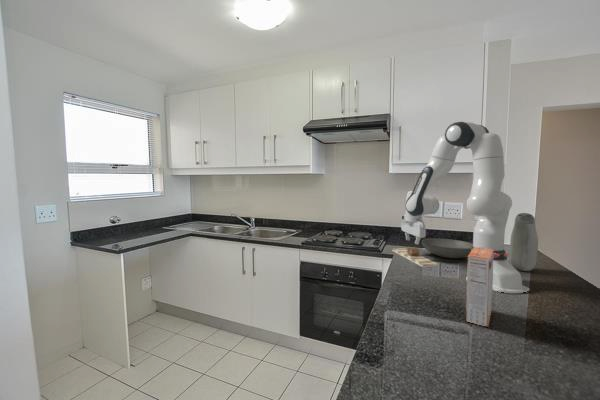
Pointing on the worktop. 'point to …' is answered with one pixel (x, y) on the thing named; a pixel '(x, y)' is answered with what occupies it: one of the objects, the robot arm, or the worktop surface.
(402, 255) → the mat
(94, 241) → the worktop surface
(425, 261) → the board
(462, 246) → the bowl
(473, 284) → the cracker box
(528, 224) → the grey green vase
